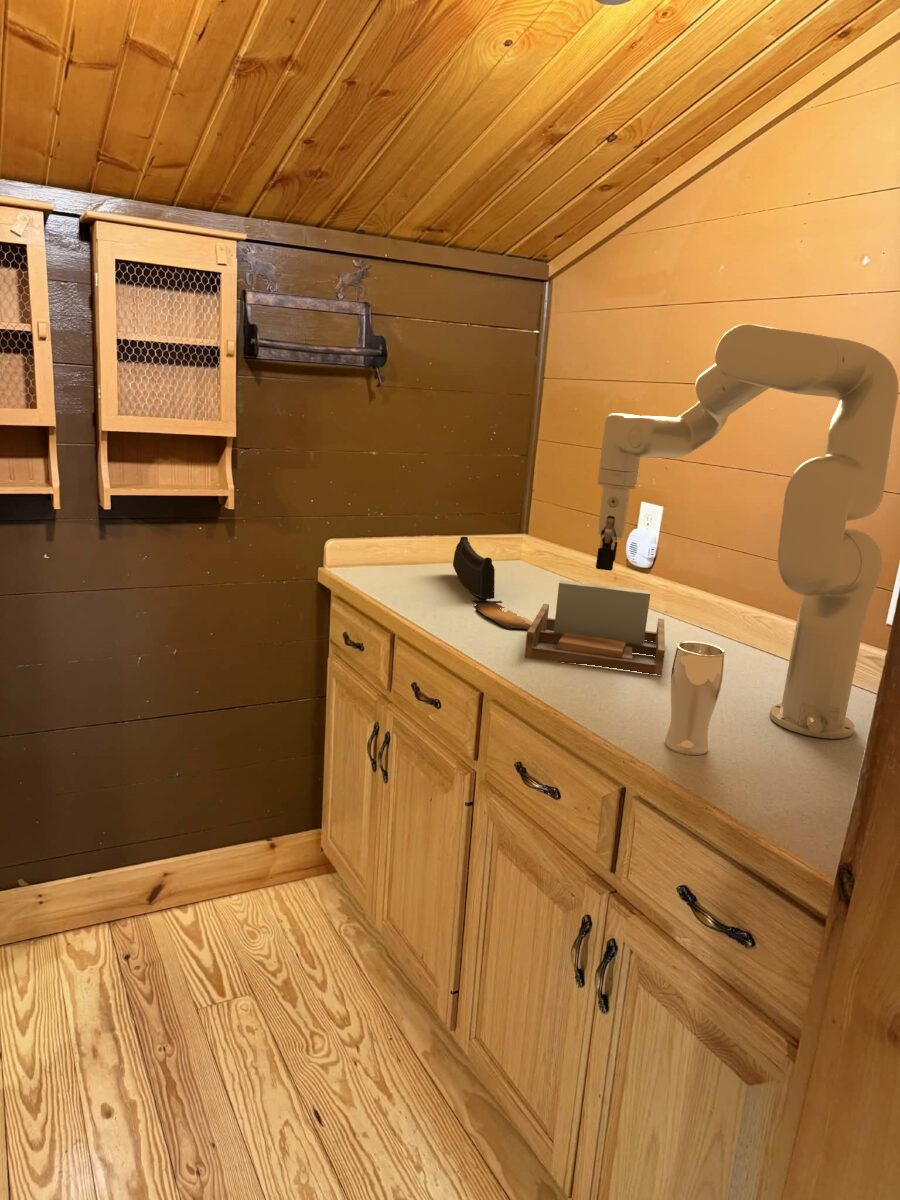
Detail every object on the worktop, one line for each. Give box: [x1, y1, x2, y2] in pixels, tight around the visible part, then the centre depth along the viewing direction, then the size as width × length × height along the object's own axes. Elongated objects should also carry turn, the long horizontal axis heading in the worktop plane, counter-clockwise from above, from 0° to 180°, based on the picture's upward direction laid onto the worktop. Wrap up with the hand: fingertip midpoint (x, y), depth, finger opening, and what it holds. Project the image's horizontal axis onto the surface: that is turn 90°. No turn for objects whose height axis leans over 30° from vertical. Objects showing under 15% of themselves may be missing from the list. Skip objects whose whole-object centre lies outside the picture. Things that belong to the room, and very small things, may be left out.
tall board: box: [553, 579, 651, 645], centre depth 169 cm, size 3×18×12 cm, turn 76°
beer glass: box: [664, 641, 726, 756], centre depth 120 cm, size 7×7×15 cm
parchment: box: [471, 599, 533, 631], centre depth 187 cm, size 25×10×1 cm, turn 19°
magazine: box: [452, 536, 496, 600], centre depth 209 cm, size 17×3×30 cm
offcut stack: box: [557, 633, 633, 660], centre depth 161 cm, size 8×14×4 cm, turn 75°
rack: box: [524, 603, 666, 676], centre depth 166 cm, size 24×25×5 cm
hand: (605, 564), depth 167 cm, fingers open, 9 cm apart
